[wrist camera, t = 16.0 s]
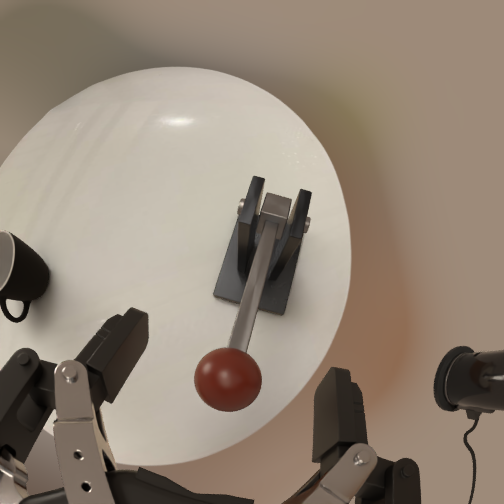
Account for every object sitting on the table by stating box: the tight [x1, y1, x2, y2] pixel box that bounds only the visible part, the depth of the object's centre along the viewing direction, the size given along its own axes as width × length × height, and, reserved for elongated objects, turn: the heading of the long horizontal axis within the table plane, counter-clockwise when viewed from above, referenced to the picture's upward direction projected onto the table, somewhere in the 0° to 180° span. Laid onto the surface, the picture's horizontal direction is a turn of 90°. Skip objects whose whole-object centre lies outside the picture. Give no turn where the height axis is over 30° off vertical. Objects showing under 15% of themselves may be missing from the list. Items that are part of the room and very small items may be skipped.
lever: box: [194, 193, 292, 412], centre depth 18 cm, size 17×4×4 cm, turn 164°
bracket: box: [213, 176, 312, 316], centre depth 29 cm, size 12×9×16 cm
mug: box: [0, 230, 49, 323], centre depth 28 cm, size 12×9×10 cm
